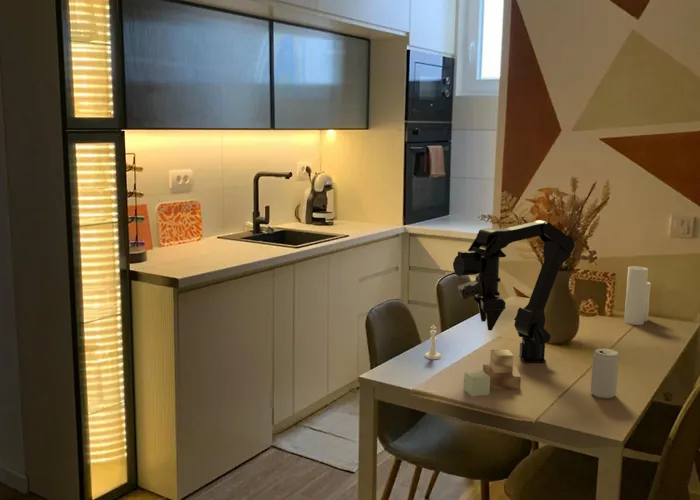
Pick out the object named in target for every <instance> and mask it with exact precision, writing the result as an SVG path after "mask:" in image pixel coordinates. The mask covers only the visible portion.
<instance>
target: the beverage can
mask: <svg viewBox="0 0 700 500" xmlns="http://www.w3.org/2000/svg"><path fill="white" fill-rule="evenodd" d="M619 361H620V356H619V352H618V351H617V350H615V349H611V348H610V349H609V348H596V349H595V350H594V354H593V355H592V365H591V366H592V367H591V377H590V379H591V381H590V393H591V394H592V395H593V396H594V397H596V398H598V399H606V400H607V399H612V398H614V397H615V396H616V395H617V390H618V389H617V388H618V379H619V378H618V376H619V363H620V362H619Z"/></svg>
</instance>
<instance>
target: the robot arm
mask: <svg viewBox="0 0 700 500" xmlns="http://www.w3.org/2000/svg"><path fill="white" fill-rule="evenodd" d="M536 237H538V238H539V240H540V241H541V242H543V244H544V245H543V248H542V249H543V257H544V259H543V260H544V261H543V263H542V265H541V267H540V268H541V269H540V271H539V274H538V276H537V280H536V282H535V285H534V287H533V290H532V293H531V295H530V298H529V301H528V303H527V305H525V306H524V308H522V307H519V308H518V309H517V313H516V316H515V318H514V319H513V321H514V327H515V330H516V332H517V334H518V337H520V338H521V342H520V343H519V357H520V359H521V360H522V361H523V362H524V363H546V362H547V360H546V359H545V351H546V350H545V349H546V344H548V343H549V342H550V339H551V334H550V333H549V332H548V331H547V330H546V329H545V323H546V315H545V314H546V313H545V308H546V306H547V303H548V301H549V298H550V295H551V292H552V290H553V287H554V284H555V282H556V279H557V277H558V273H559V270H560V268H561V266H562V265H563V263H565V262H567V260H568V259H569V258H570V256H571V255H572V252H573V251H574V249H575V245H576V244H575V240H574V239H573V237H572V236H571V235H567V234H566V233H565V232H563V231H561V230H560V229H558V228H557V227H555V226H554V225H553V224H552V223H551V222H549V221H548V220H546V221H545V220H542V219H537V220H535V221H532V222H527V223H523V224H519V225H515V226H509V227H506V228H497V227H495V228H493V227H491V228H490V227H487V228H481V229H479V230H478V233H477V234H476V237H475V239H474V240H473V242H472V243H471V245H470V246H469V248H468V250H467V251H464V250H463V251H461V250H460V251H458V252H457V256H455V257H454V260H453V263H452V266H453V267H452V269H453V272H454V273H455V275H456V276H458V277H462V276H463V277H465V276H474V275H475V280H471V281H468V282H466V283H462V284H460V285H457V289H458V293H459V296H460V298H461V299H462V300H467V299H469V298H473V300H474V301H475V302H476V303H477V305H478V310H479V315H480V320H481V322H484V323H485V322H486V326H487V331H492V330H493V329H494V328H495V326H496V323H497V321H498V320H499V318H500V316H501V314H502V313H503V312H504V310H505V309H506V301H505V300H504V299H503V298H502V297H501V296H500V291H499V283H500V282H501V277H500V276H499V273H500V270H499V269H500V258H506V257H507V255H506V253H505V252H504V251H502V249H504V248H506V247H507V246H508V245H509V244H512V243H514V242H519V241H523V240H528V239H531V238H536Z"/></svg>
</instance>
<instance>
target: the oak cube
mask: <svg viewBox="0 0 700 500" xmlns="http://www.w3.org/2000/svg"><path fill="white" fill-rule="evenodd" d="M489 357H490V358H489V365H490V368H491V370H492V371H493V372H494V373H513V366H514V354H513V353H512V352H511V351H510V350H509V349H490V356H489Z"/></svg>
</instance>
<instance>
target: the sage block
mask: <svg viewBox="0 0 700 500" xmlns="http://www.w3.org/2000/svg"><path fill="white" fill-rule="evenodd" d="M463 375H464V376H463V378H464V379H463V390H464V391H465V392H466V393H467V394H468V395H469V396H471V397H478V396H479V397H480V396H489V395H490V376H489V375H487V374H486V373H484V372H483V369H481V370H473V371H464V374H463Z"/></svg>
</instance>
